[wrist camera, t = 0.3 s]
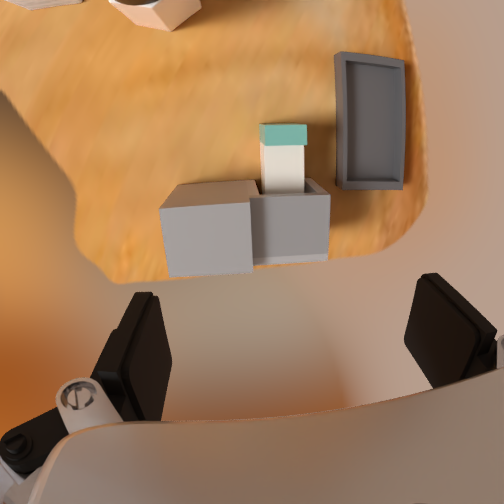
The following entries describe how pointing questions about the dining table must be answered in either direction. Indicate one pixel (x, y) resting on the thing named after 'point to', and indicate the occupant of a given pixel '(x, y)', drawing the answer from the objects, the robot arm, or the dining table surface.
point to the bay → (242, 227)
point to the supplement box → (42, 3)
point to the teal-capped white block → (282, 157)
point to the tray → (369, 122)
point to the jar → (157, 12)
